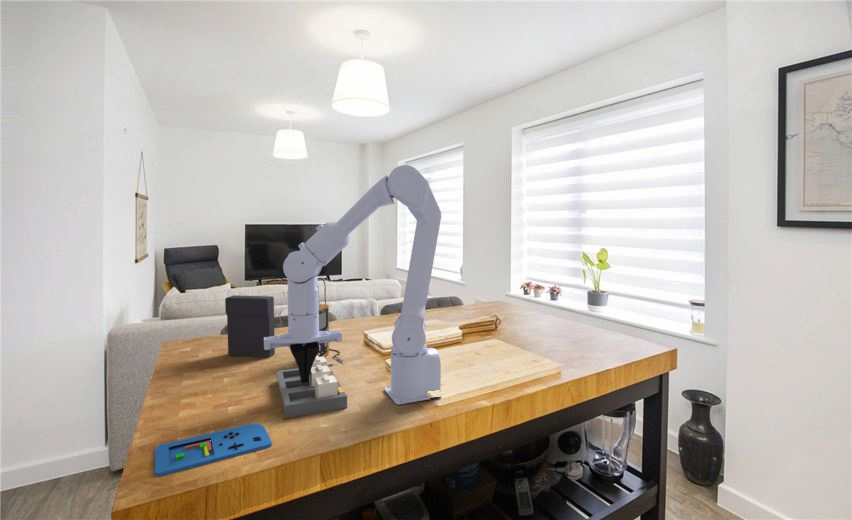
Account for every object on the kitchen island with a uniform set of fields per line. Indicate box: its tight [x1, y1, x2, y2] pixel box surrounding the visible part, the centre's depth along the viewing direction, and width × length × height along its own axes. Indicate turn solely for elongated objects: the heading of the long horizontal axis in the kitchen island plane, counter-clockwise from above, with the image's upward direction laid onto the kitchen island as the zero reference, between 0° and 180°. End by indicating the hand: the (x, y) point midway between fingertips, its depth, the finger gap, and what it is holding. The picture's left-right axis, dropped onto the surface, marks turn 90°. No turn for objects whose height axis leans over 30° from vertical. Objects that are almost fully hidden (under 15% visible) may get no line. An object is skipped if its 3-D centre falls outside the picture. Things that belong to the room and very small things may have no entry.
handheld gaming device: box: [154, 423, 273, 477], centre depth 62 cm, size 8×1×15 cm
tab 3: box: [315, 374, 339, 398], centre depth 78 cm, size 4×4×4 cm
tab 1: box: [312, 356, 328, 367], centre depth 89 cm, size 4×4×4 cm
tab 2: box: [309, 365, 330, 387], centre depth 83 cm, size 4×4×4 cm
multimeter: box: [317, 277, 347, 367], centre depth 102 cm, size 15×10×20 cm
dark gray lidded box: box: [224, 295, 276, 358], centre depth 105 cm, size 11×4×15 cm, turn 84°
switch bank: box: [276, 365, 348, 419], centre depth 82 cm, size 11×18×2 cm, turn 24°
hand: (304, 380), depth 82 cm, fingers closed
